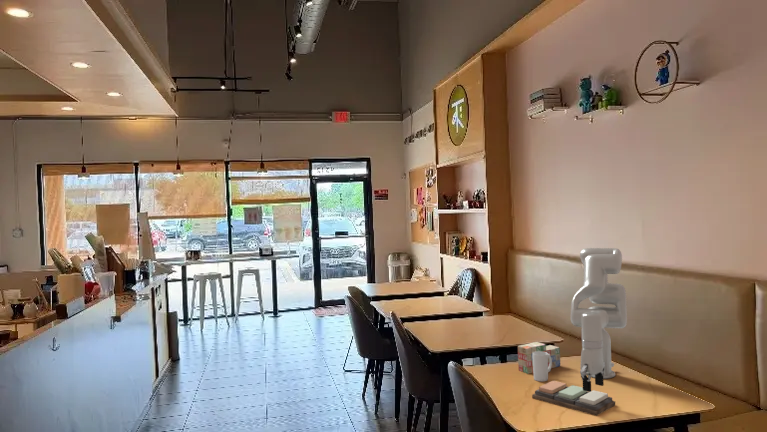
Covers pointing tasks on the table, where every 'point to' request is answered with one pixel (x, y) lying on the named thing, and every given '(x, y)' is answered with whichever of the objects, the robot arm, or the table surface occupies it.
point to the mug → (541, 365)
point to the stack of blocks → (527, 355)
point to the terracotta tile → (552, 387)
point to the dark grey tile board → (574, 402)
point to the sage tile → (572, 392)
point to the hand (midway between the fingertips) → (593, 388)
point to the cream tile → (593, 397)
